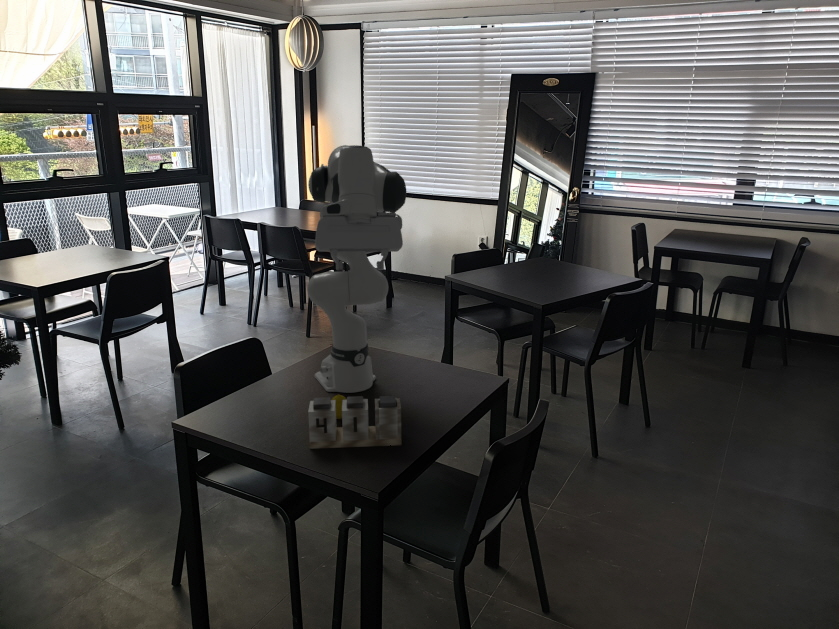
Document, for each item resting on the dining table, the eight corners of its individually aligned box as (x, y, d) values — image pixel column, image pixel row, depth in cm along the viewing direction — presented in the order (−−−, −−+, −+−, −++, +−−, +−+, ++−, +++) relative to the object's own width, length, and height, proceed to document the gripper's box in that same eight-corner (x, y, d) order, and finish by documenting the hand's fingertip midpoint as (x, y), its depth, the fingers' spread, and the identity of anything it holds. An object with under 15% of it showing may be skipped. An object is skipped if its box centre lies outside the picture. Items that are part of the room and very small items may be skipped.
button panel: (309, 448, 176) (307, 408, 172) (312, 433, 184) (310, 394, 181) (401, 445, 177) (401, 405, 174) (399, 429, 186) (399, 391, 182)
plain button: (380, 424, 178) (379, 403, 176) (379, 417, 182) (379, 396, 180) (396, 424, 178) (396, 402, 176) (395, 416, 182) (395, 395, 180)
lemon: (349, 414, 195) (348, 390, 193) (348, 423, 190) (347, 398, 188) (331, 415, 195) (330, 390, 193) (329, 423, 190) (328, 398, 187)
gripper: (399, 216, 156) (402, 272, 154) (313, 215, 152) (315, 272, 150) (404, 208, 150) (406, 266, 148) (314, 207, 146) (316, 266, 144)
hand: (360, 269), depth 149 cm, fingers open, 8 cm apart
